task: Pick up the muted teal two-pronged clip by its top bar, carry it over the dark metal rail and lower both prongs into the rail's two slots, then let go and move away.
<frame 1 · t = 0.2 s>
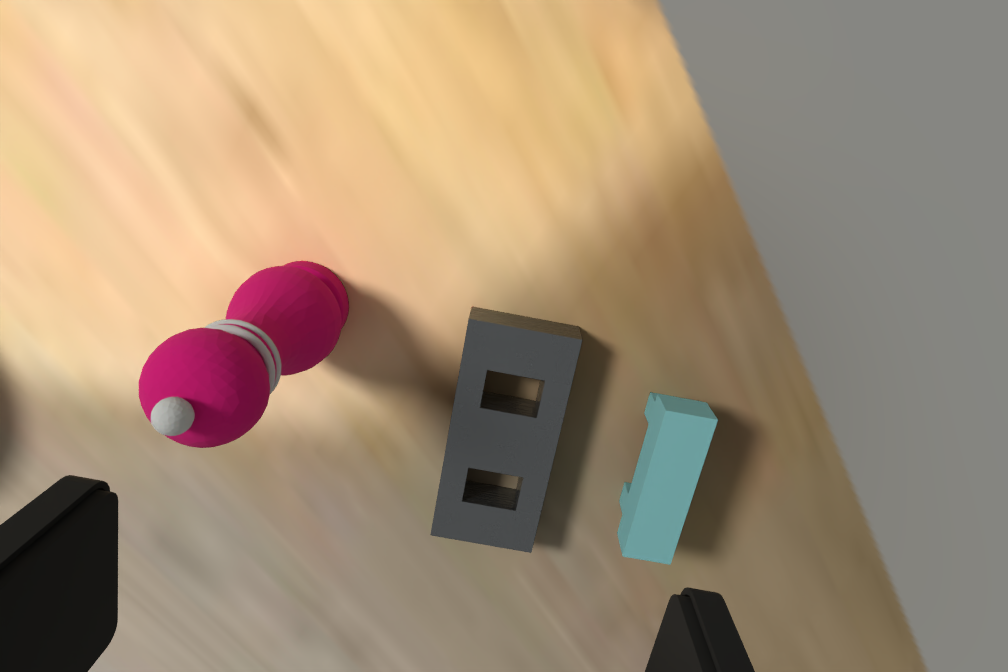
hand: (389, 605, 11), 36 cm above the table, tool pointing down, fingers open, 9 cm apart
rail: (503, 424, 50), on the table
pepper mill: (308, 301, 47), on the table
clip: (652, 451, 50), on the table
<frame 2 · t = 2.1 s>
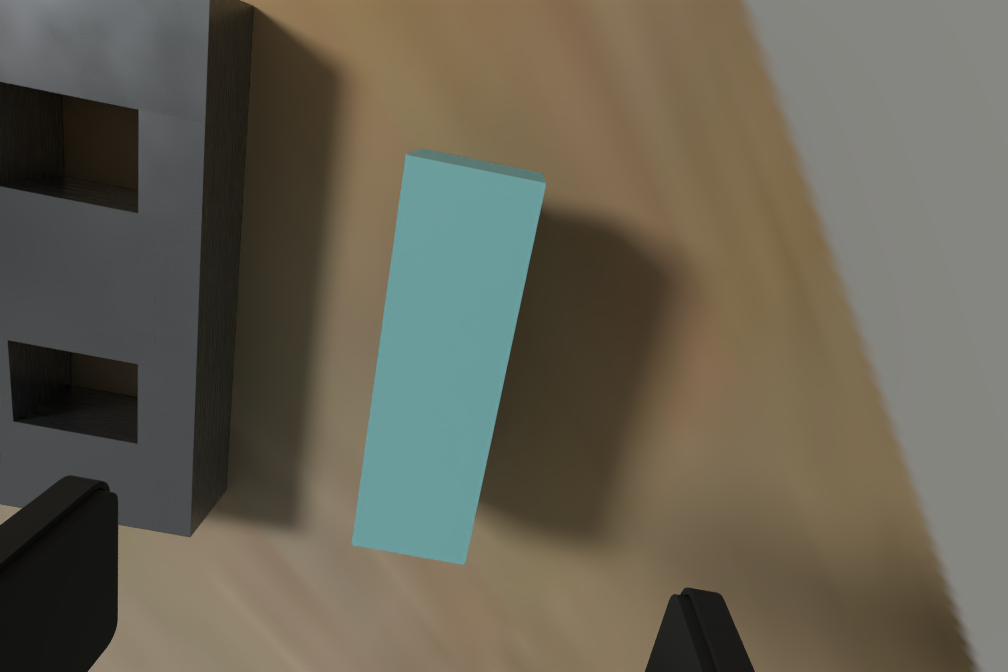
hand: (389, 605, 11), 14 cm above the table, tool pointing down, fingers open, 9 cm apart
rail: (126, 258, 23), on the table
clip: (456, 321, 23), on the table
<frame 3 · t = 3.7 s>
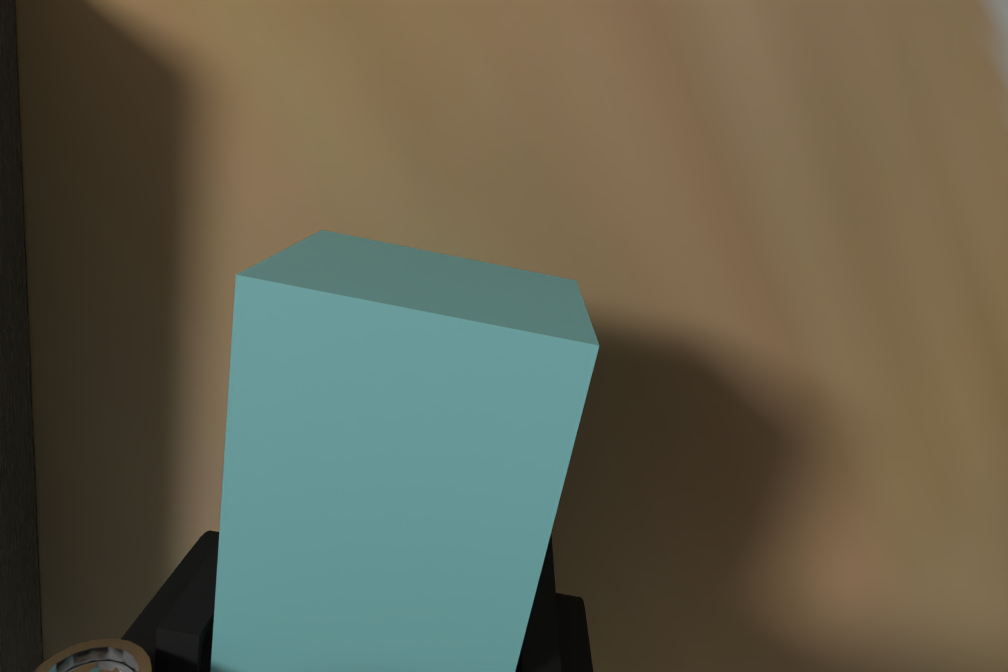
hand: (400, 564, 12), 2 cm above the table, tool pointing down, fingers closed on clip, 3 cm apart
clip: (416, 506, 13), on the table, touching gripper
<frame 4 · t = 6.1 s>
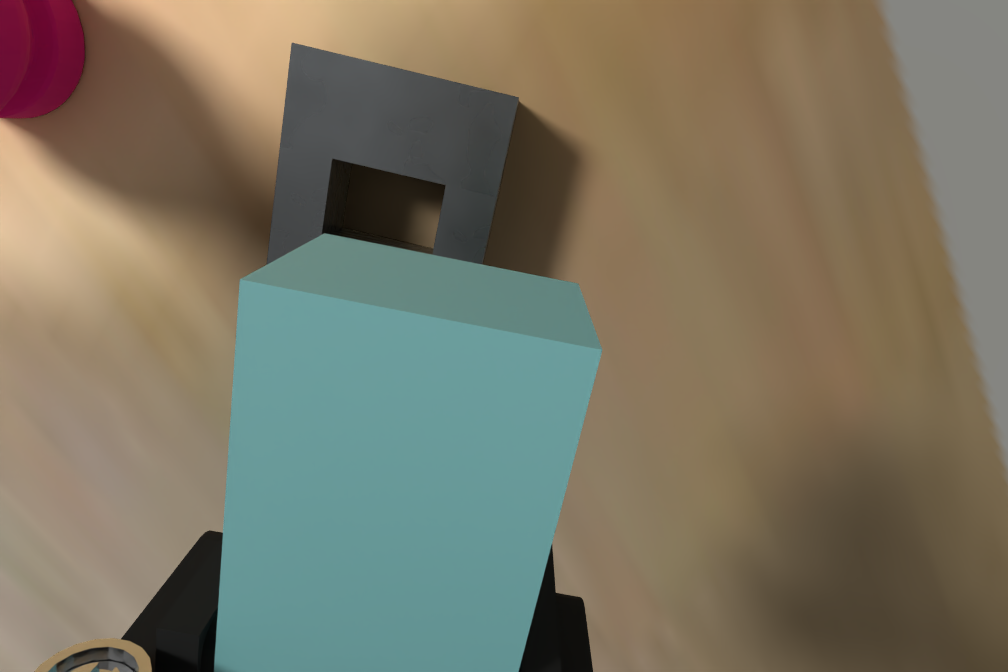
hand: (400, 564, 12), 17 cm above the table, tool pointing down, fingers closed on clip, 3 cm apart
rail: (381, 295, 28), on the table
pepper mill: (11, 34, 25), on the table
clip: (418, 508, 13), point 15 cm above the table, touching gripper
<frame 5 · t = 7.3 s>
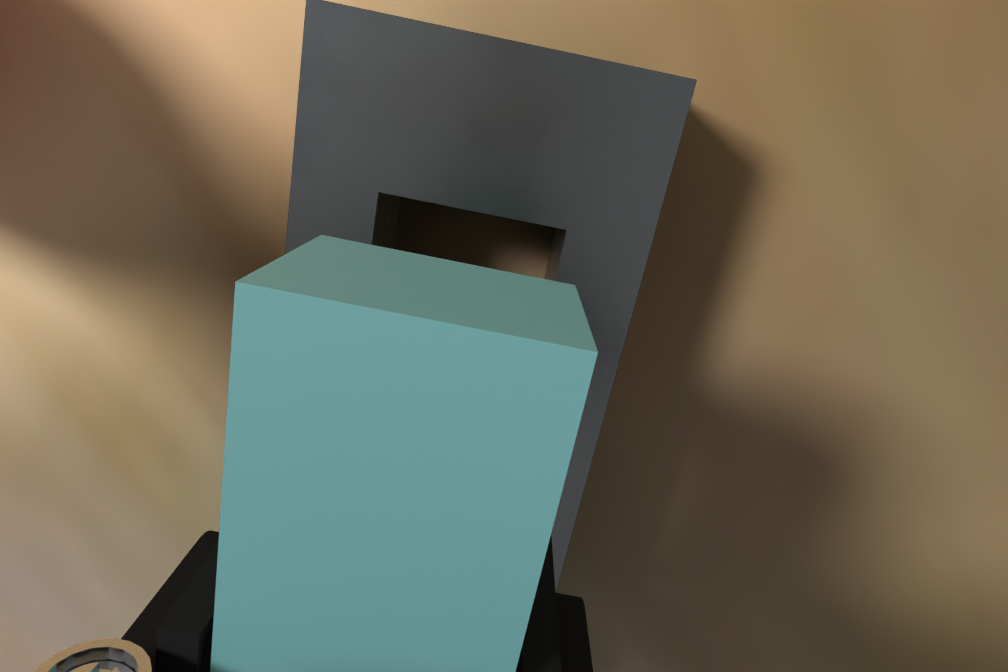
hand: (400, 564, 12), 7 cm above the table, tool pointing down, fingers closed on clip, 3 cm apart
rail: (447, 383, 19), on the table
clip: (416, 509, 13), point 6 cm above the table, touching gripper
when the fingers open (3 cm above the table, at t = 8.4 s): clip drops 1 cm, resting on rail.
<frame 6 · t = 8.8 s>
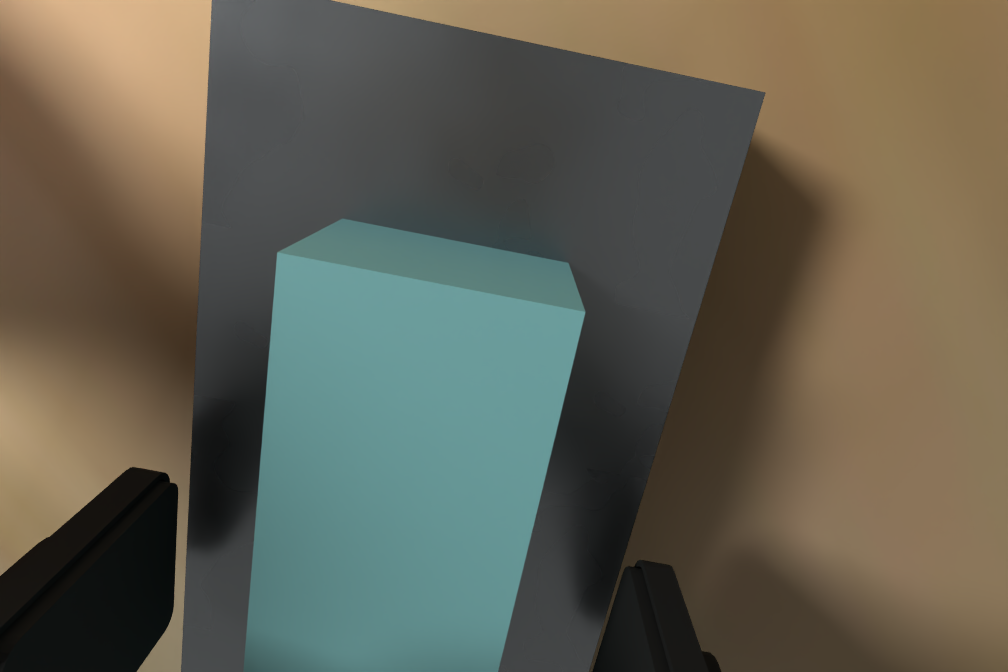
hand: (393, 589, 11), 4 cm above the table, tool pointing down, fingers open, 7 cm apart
rail: (425, 472, 15), on the table
clip: (424, 477, 15), resting on rail
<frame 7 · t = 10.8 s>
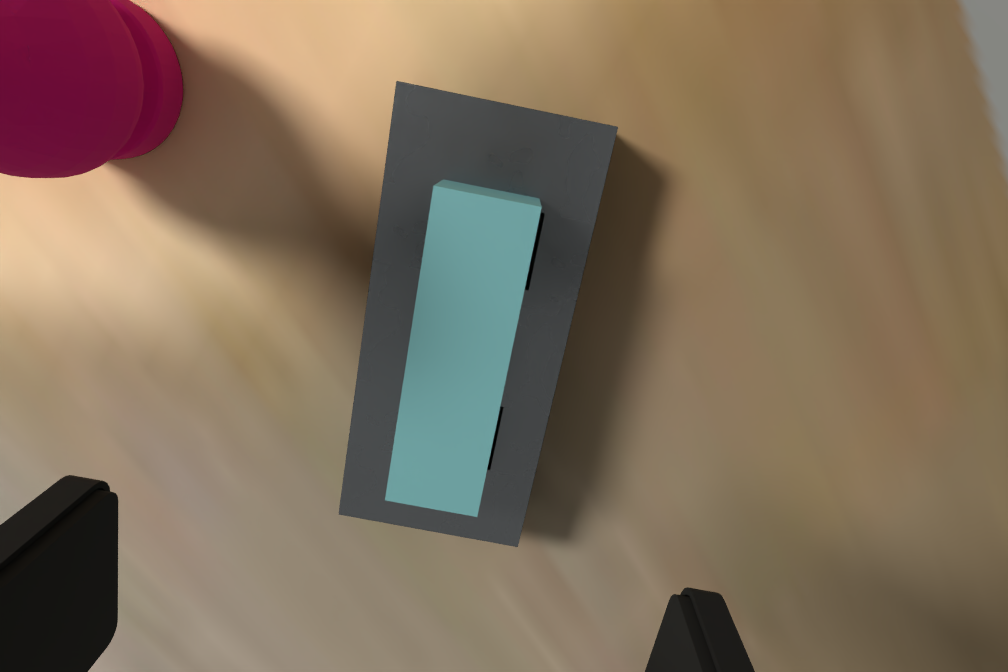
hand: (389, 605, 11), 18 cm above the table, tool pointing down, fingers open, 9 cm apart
rail: (469, 319, 28), on the table
pepper mill: (110, 78, 26), on the table
clip: (469, 320, 28), resting on rail
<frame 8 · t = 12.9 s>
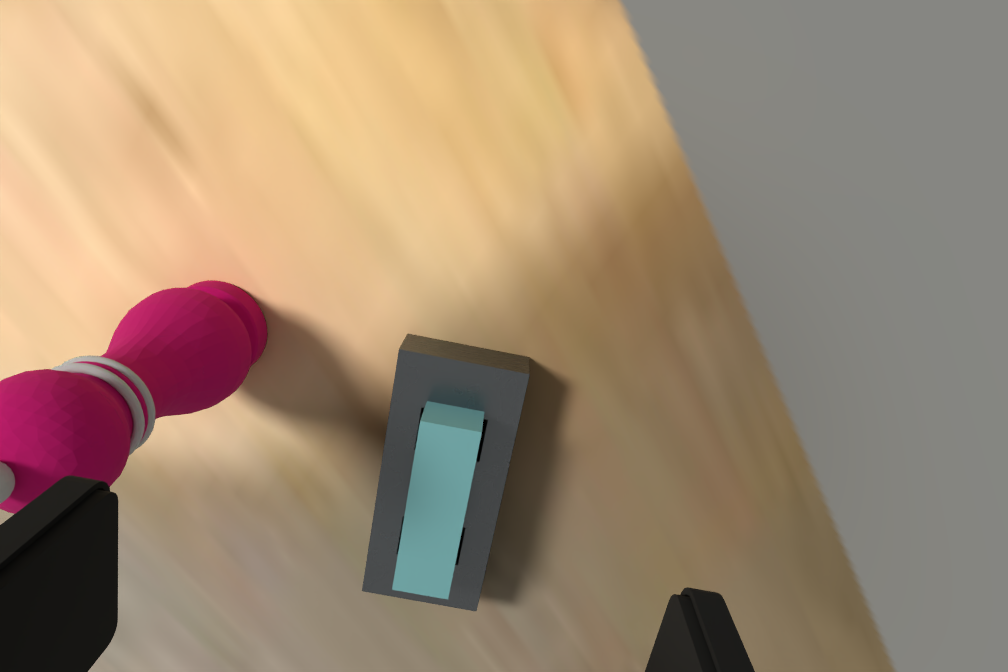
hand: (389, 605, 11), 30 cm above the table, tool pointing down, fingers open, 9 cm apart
rail: (445, 466, 44), on the table
pepper mill: (221, 326, 42), on the table
clip: (445, 467, 44), resting on rail
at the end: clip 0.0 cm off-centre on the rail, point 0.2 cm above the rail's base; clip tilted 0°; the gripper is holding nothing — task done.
